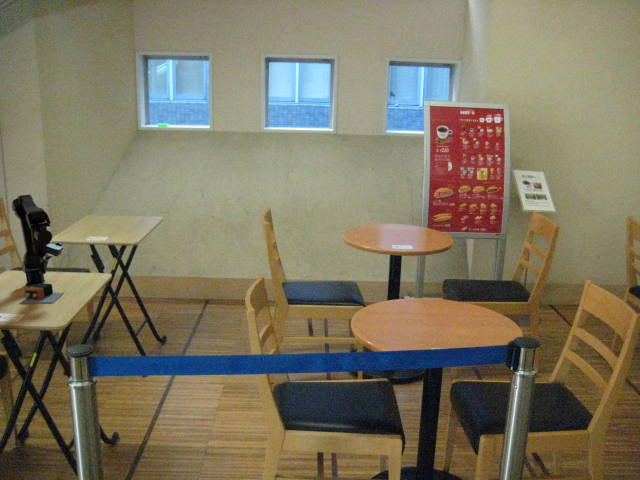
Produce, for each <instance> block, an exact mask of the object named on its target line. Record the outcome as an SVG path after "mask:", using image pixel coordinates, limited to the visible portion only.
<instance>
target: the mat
mask: <svg viewBox="0 0 640 480" xmlns="http://www.w3.org/2000/svg"><path fill="white" fill-rule="evenodd" d="M64 294H65V292H53V293H52V294H50V295H48V296H46V297H44V298H42V299H40V300H34V299H26V297H25V298H23V299H22V300H20V302H19V305H20V304H22V305H23V304H54V303H55V302H56V301H57V300H59V299H60V298H61V297H62V296H64Z"/></svg>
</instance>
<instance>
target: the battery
mask: <svg viewBox="0 0 640 480" xmlns="http://www.w3.org/2000/svg"><path fill="white" fill-rule="evenodd" d="M53 289H54V288H53V284H52V283H44V282H43V283H39V284H36V285H31V286H30V287H27V288H25V290H24V296H25V298H26V299H34V300H40V299H42V298H44V297H46V296H48V295H50V294H52V293H54V290H53Z"/></svg>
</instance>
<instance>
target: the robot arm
mask: <svg viewBox="0 0 640 480" xmlns="http://www.w3.org/2000/svg"><path fill="white" fill-rule="evenodd" d="M11 208H12V209H11V210H12V211H13V213H14V215H15V217H16V218H17V219H19V221H20V222H19V223H20V228H21V232H22V238H23V244H24V247H25V252H24V254H23V257H22V258H23V260H22V264H21V268H22V272H23V273H24V274H25V277H26V283H25V286H34V285H36V284H39V283H44V282H46V280H45V275H46V274H47V269H48V264H49V263H48V262H49V261H50V260H51V258H53V256H54V257H59V255H61V254H62V251H63V250H64V246H63V244H62V242H60V241H58V242H56V243H51V241H52V239H53V234H52V232H51V231H50V230H48V228H47V227H51V219H50V218H49V214H48V213H47V211H45V209H43V208H42V207H39V206H37V204H36V203H35V201H34V198H33V197H32V195H31V194H21V195H18V196H17V198H14V199H13V200H12V202H11ZM52 255H53V256H52Z"/></svg>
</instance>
